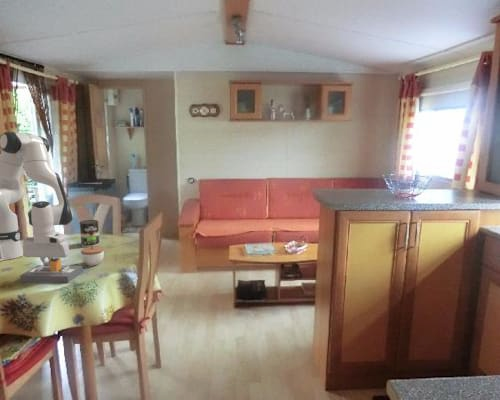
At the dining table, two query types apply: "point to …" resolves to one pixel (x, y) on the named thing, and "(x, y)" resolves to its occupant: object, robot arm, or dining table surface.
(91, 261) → the lidded jar
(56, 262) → the lever
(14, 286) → the dining table surface
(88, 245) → the coffee can
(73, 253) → the dining table surface
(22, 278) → the panel
